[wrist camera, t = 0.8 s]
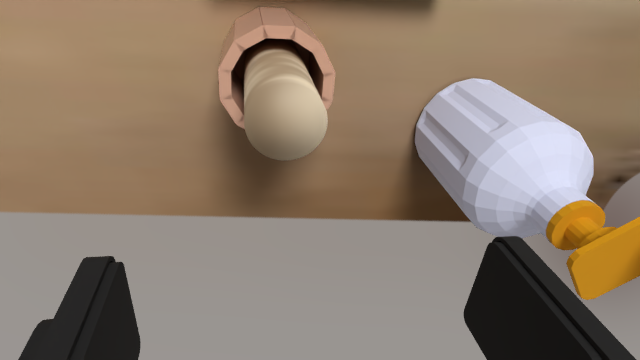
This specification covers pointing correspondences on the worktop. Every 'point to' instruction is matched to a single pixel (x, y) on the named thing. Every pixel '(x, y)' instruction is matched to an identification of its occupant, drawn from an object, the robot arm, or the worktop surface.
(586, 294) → the soap bottle
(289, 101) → the dowel
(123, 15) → the worktop surface
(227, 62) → the cup
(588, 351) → the robot arm
